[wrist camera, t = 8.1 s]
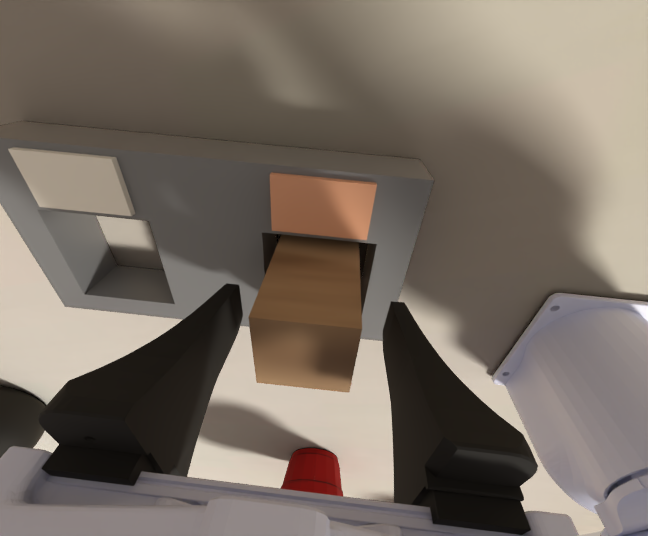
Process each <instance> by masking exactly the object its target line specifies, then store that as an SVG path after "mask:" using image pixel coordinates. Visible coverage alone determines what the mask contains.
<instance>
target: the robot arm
mask: <svg viewBox="0 0 648 536" xmlns="http://www.w3.org/2000/svg"><path fill="white" fill-rule="evenodd" d="M242 318H243V310H242V303H241V295H240V287H239V285H237V284H228V283H226V284H225V285H224V286H223V287H222V288H220V289H219V290H218V291H217V292H216V293H215V294H214V295H213V296H211V297H210V298H209V299H208V300H207V301H206V302H205V303H203V304H202V305H201V306H200V307H199V308H197V309H196V310H195V311H194V312H193V313H191V314H190V315H189V316H187V317H186V318H185V319H184V320H182V321H181V322H180V323H178V324H177V325H176V326H174V327H173V328H171V329H170V330H169V331H167V332H166V333H164V334H162V335H161V336H159V337H158V338H156V339H155V340H153V341H151V342H149V343H148V344H146V345H144V346H142V347H141V348H139V349H137V350H135V351H134V352H132V353H130V354H128V355H126V356H124V357H122V358H120V359H118V360H116V361H114V362H112V363H110V364H108V365H105V366H103V367H101V368H99V369H96V370H94V371H91V372H89V373H87V374H84V375H82V376H79V377H77V378H75V379H72V380H69V381H68V382H67V383H66V384H65V385H64V386H63V388H62V389H61V390H60V391H59V392H58V393H57V394H56V395H55V397H54V398H53V399H52V400H51V401H50V402H49V403H48V405H47V406H46V407H45V408H44V409H43V410H42V411H41V413H40V414H39V416H38V420H39V424H40V425H41V426H42V428H43V429H44V430H45V431H46V432H47V433H48V434H49V435H51V436H52V437H53V438H54V439H55V440H56V441H57V442H58V443H59V446H58V447H57V448H56V449H55V451H54V452H53V453H51V452H48V451H46V450H41V449H33V448H25V447H17V446H13V447H10V448H9V449H8V450H7V451H6V452H5V453H4V455H3V456H2V457H1V458H0V536H579V534H578V532H577V530H576V528H575V526H574V524H573V521H572V519H571V517H569V516H568V515H565V514H557V513H549V512H541V511H527V512H524V510H523V507H522V504H521V502H520V501H523V500H524V497H523V494H522V491H521V489H520V486H521V485H522V484H523V483H524V482H526V481H527V480H528V479H530V478H531V477H532V476H533V475H534V474H535V473H536V471H537V467H538V465H537V463H536V461H535V459H534V456H533V454H532V452H531V449H530V447H529V445H528V443H527V442H526V440H525V438H524V436H523V434H522V433H520V432H519V431H518V430H517V429H515V428H514V427H513V426H511V425H510V424H509V423H508V422H506V421H505V420H504V419H503V418H501V417H500V416H499V415H497V414H496V413H495V412H494V411H493V410H492V409H490V408H489V407H488V406H487V405H486V404H485V403H484V402H482V401H481V400H480V399H479V398H478V397H477V396H476V395H475V394H474V393H473V392H472V391H471V390H470V389H469V388H468V387H467V386H466V385H465V384H464V383H463V382H462V381H461V380H460V379H459V378H458V377H457V376H456V375H455V374H454V373H453V372H452V371H451V369H450V368H449V367H448V366H447V365H446V364H445V362H444V361H443V360H442V359H441V357H440V356H439V355H438V354H437V352H436V351H435V350H434V348H433V347H432V345H431V344H430V343H429V341H428V340H427V338H426V337H425V335H424V334H423V332H422V331H421V329H420V328H419V326H418V325H417V323H416V321H415V320H414V318H413V316H412V315H411V313H410V311H409V310H408V308H407V306H406V305H405V303H402V302H393V301H391V303H390V307H389V310H388V314H387V317H386V321H385V324H384V328H383V353H384V360H385V366H386V373H387V379H388V385H389V392H390V399H391V411H392V430H393V457H394V503H391V502H383V501H375V500H367V499H359V498H351V497H343V496H335V495H327V494H319V493H311V492H303V491H295V490H287V489H279V488H271V487H263V486H255V485H247V484H239V483H231V482H223V481H215V480H207V479H199V478H191V477H187V474H188V470H189V467H190V463H191V459H192V456H193V452H194V448H195V445H196V442H197V438H198V435H199V431H200V428H201V425H202V422H203V419H204V415H205V412H206V409H207V406H208V403H209V400H210V397H211V394H212V391H213V388H214V386H215V383H216V380H217V378H218V376H219V373H220V371H221V369H222V367H223V365H224V363H225V360H226V358H227V356H228V354H229V352H230V350H231V347H232V345H233V343H234V341H235V338H236V336H237V334H238V331H239V328H240V324H241V321H242ZM492 380H493V382H494V383H495V384H497V385H505V386H506V388H507V390H508V393H509V395H510V397H511V399H512V401H513V403H514V405H515V408H516V410H517V412H518V414H519V416H520V418H521V420H522V423H523V425H524V427H525V429H526V431H527V433H528V435H529V438H530V440H531V442H532V444H533V446H534V448H535V450H536V453H537V455H538V457H539V459H540V461H541V463H542V464H543V466H544V468H545V469H546V471H547V472H548V474H549V475H550V476H551V478H552V479H553V480H554V481H555V482H556V484H557V485H558V486H559V487H560V488H561V489H562V490H563V491H564V492H565V493H566V494H567V495H568V496H569V497H570V498H572V499H573V500H574V501H575V502H577V503H578V504H579V505H581V506H583V507H584V508H586V509H588V510H589V511H591V512H593V513H595V514H598V516H599V518H600V519H601V521H602V523H603V525H604V527H605V528H604V529H603V531H602V532H601V533H600V536H648V302H644V301H634V300H624V299H615V298H605V297H596V296H586V295H576V294H567V293H555V294H553V295H551V296H550V297H549V298H548V299H547V300H546V302H545V303H544V305H543V306H542V307H541V309H540V310H539V312H538V313H537V314H536V316H535V317H534V319H533V320H532V322H531V323H530V324H529V326H528V327H527V329H526V330H525V331H524V333H523V334H522V336H521V337H520V338H519V340H518V341H517V343H516V344H515V345H514V347H513V348H512V350H511V351H510V352H509V354H508V355H507V357H506V358H505V359H504V361H503V362H502V364H501V365H500V367H499V368H498V369H497V371H496V372H495V374H494V375H493V376H492Z"/></svg>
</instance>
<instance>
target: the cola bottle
mask: <svg viewBox="0 0 648 536" xmlns="http://www.w3.org/2000/svg"><path fill="white" fill-rule="evenodd" d="M45 407H46V406H45V405H44V404H43V403H42V402H41V401H39V400H38V399H37V398H35V397H33V396H31V395H29V394H27V393H25V392H22V391H19V390H16V389H12V388H8V387H0V458H1V457H2V456H3V455H4V453H5V452H6V451H7V450H8V449H9V448H10V447H13V446H17V447H25V448H33V447H34V446H35V445H36V444H37V442H38V441H39V439H40V438H41V436H42V434H43V433H44V431H45V430H44V429H43V428H42V426H41V425H40V424H39V420H38V416H39V414H40V413H41V411H42V410H43V409H44V408H45Z"/></svg>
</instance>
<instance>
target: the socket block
mask: <svg viewBox="0 0 648 536" xmlns="http://www.w3.org/2000/svg"><path fill="white" fill-rule="evenodd" d="M433 183H434V179H433V178H432V176H431V175H430V173H429V172H428V170H427V169H426V167H425V166H424V164H423V163H422V161H421V160H420V159H411V158H401V157H390V156H380V155H370V154H359V153H349V152H339V151H328V150H318V149H307V148H297V147H287V146H276V145H266V144H256V143H245V142H235V141H224V140H214V139H204V138H193V137H183V136H173V135H162V134H152V133H141V132H131V131H121V130H110V129H100V128H90V127H79V126H69V125H58V124H48V123H38V122H27V121H20V122H15V123H9V124H4V125H0V203H1V205H2V207H3V208H4V210H5V211H6V213H7V215H8V216H9V218H10V219H11V221H12V223H13V224H14V226H15V227H16V229H17V231H18V232H19V234H20V235H21V237H22V239H23V240H24V242H25V243H26V245H27V247H28V248H29V250H30V251H31V253H32V255H33V256H34V258H35V259H36V261H37V263H38V264H39V266H40V267H41V269H42V271H43V272H44V274H45V275H46V277H47V279H48V280H49V282H50V283H51V285H52V287H53V288H54V290H55V291H56V293H57V295H58V296H59V298H60V299H61V301H62V303H63V304H64V306H65V307H73V308H83V309H92V310H101V311H110V312H120V313H129V314H138V315H147V316H156V317H166V318H175V319H185V318H186V317H187V316H189V315H190V314H191V313H193V312H194V311H195V310H196V309H197V308H199V307H200V306H201V305H202V304H203V303H205V302H206V301H207V300H208V299H209V298H210V297H211V296H213V295H214V294H215V293H216V292H217V291H218V290H219V289H220V288H222V287H223V286H224V285H225V284H226V283H228V284H237V285H239V287H240V295H241V303H242V310H243V318H242V321H241V324H240V326H249V318H248V317H249V315H250V312H251V310H252V307H253V305H254V302H255V299H256V297H257V294H258V292H259V289H260V287H261V284H262V282H263V279H264V277H265V274H266V272H267V269H268V267H269V264H270V262H271V259H272V257H273V254H274V252H275V249H276V234H283V235H293V236H302V237H312V238H322V239H332V240H341V241H351V242H361V243H368V246H367V251H366V257H365V262H364V267H363V272H362V278H361V283H360V285H361V311H362V332H361V337H360V339H369V340H378V341H383V328H384V324H385V321H386V317H387V314H388V310H389V307H390V303H391V301H393V302H398V299H399V296H400V292H401V289H402V286H403V282H404V279H405V276H406V272H407V269H408V266H409V263H410V259H411V256H412V253H413V249H414V246H415V243H416V239H417V236H418V233H419V229H420V226H421V223H422V220H423V216H424V213H425V210H426V206H427V203H428V200H429V196H430V193H431V190H432V186H433ZM95 215H97V216H107V217H116V218H126V219H136V220H146V221H149V223H150V226H151V230H152V233H153V236H154V239H155V242H156V245H157V249H158V252H159V255H160V258H161V261H162V264H163V268H164V270H156V269H147V268H137V267H128V266H118V265H117V264H116V262H115V260H114V257H113V255H112V253H111V250H110V248H109V246H108V243H107V241H106V239H105V236H104V234H103V232H102V230H101V227H100V225H99V223H98V220H97V218H96V216H95ZM249 327H250V326H249Z"/></svg>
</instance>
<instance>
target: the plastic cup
mask: <svg viewBox="0 0 648 536" xmlns="http://www.w3.org/2000/svg"><path fill="white" fill-rule="evenodd" d="M281 489H287V490H295V491H303V492H311V493H319V494H327V495H335V496H343V492H342V488H341V478H340V468H339V463H338V459H337V457H336V456H335V455H334V454H333V453H331V452H328V451H326V450H322V449H317V448H304V449H299V450H297V451H295V452H294V453H293V455H292V457H291V459H290V461H289V464H288V468H287V471H286V475H285V478H284V482H283V485H282V486H281Z"/></svg>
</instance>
